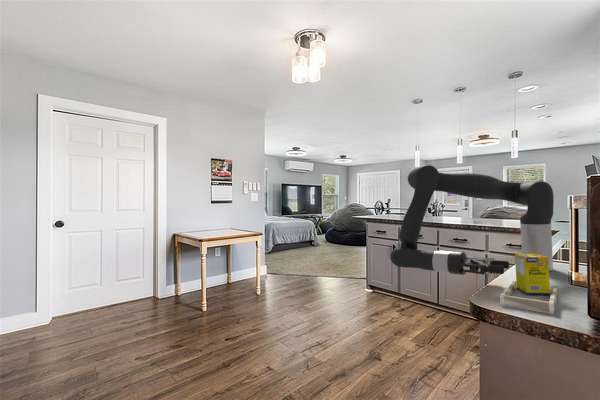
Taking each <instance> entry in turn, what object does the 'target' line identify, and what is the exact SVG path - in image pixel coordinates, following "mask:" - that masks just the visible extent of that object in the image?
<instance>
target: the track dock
mask: <svg viewBox="0 0 600 400" xmlns="http://www.w3.org/2000/svg"><path fill="white" fill-rule="evenodd" d="M558 287H559V286H557V285H554V286H553V288H552V294H550V296H549V297H550V298H549V300H548V301H547V300H541V299H534V298H533V299H532V298H525V297H520V296H512V294H513V293H514V291H515V290H516V289H517V284H516V280H514V281H513V280H512V282H511V284H510V285H509V286H508V288H504V289H503V291H502V292H501V294H500V296H499V300H500V302H499V303H500V306H501V307H510V308H515V309H521V310H527V311H532V312H533V311H534V312H537V313H544V314H545V313H546V314H550V315H554V314H555V309H556V303H557V297H558Z"/></svg>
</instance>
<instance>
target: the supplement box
mask: <svg viewBox="0 0 600 400" xmlns="http://www.w3.org/2000/svg"><path fill="white" fill-rule="evenodd" d="M514 259H515V260H514V261H515V262H514V263H515V278H516V279H515V281H516V290H517V291H519V292H521V293H523V294H525V295H526V296H541V297H542V296H544V297H550V296H551V284H550V283H551V282H550V281H551V279H550V271H549V259H548V257H545V256H542V255H539V254H522V253H514Z"/></svg>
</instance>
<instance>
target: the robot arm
mask: <svg viewBox="0 0 600 400" xmlns="http://www.w3.org/2000/svg"><path fill="white" fill-rule="evenodd" d="M407 182H408V185H409V186H410V187H411V188H413V189H414V192H413V195H412V200H411V202H410V203H409V206H408V209H407V211H406V212H405V215H404V217H403V218H402V223H401V226H400V229H399V234H398V238H399V240H400V247H397V248H396V247H395V248H394V249H393V250H392V251H391V253H390V256H389V259H390V261H391V263H392V265H395V266H396V267H399V268H406V269H407V268H410V269H411V268H412V269H420V270H424V271H433V272H439V273H444V274H453V275H459V276H460V275H461V276H465V275H466V274H467V273H470V274H479V275H485V274H498V275H503V274H505V269H509V268H510V262H509V261H507V260H498V259H497V260H496V259H494V258H493V257H479V256H473V257H471V258H468V257H467V253H466V252H464V251H454V250H453V251H452V250H431V249H430V250H429V249H428V250H426V249H424V250H423V249H418V241H419V237H420V233H421V230H422V226H423V223H424V218H425V215H426V213H427V209H428V207H429V204H430V202H431V200H432V197H433V194H434V192H443V193H448V194H452V195H457V196H461V197H467V198H473V199H483V200H500V201H502V200H503V201H505V202H506V201H507V202H511V203H514V204H519V205H522V206H527V210H526V212H525V213H524V214H523V215H521V216H520V218H519V223H520V243H521V244H520V245H521V254H539V255H542V256H545V257H548V259H549V272H553V271H554V260H553V259H554V258H553V257H554V255H553V253H554V252H553V235H552V218H553V216H554V205H555V203H554V202H555V201H554V198H555V197H554V189H553V188H552V185H550V184H549V183H548V182H546V181H544V180H542V181H541V180H537V181H525V182H513V181H512V182H511V181H504V180H501V179H498V178H496V177H493V176H491V175H488V174H487V175H486V174H481V173H474V172H473V173H472V172H454V173H453V172H452V173H451V172H450V173H447V172H446V173H443V172H439V170H438V169H437V168H436V167H435V166H433V165H431V164H425V165H420V166H417V167H416V168H413V170H411V171H410V172H409V173H408V175H407Z"/></svg>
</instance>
